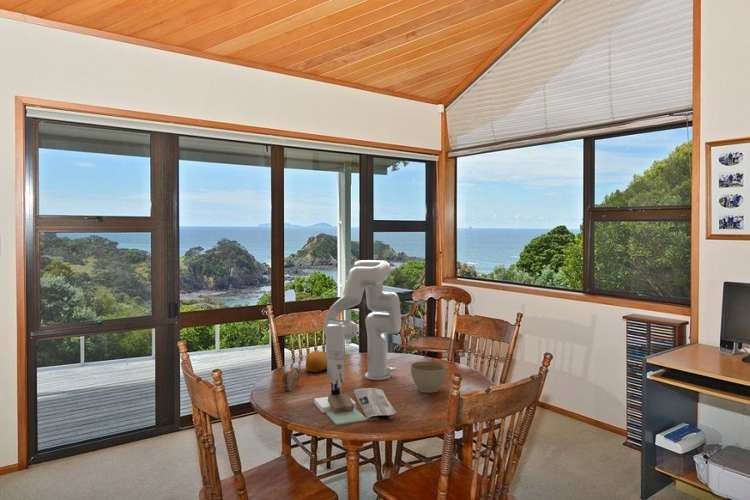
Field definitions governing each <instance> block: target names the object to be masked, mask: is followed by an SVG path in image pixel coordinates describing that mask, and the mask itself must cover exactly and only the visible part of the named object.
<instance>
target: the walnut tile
mask: <svg viewBox="0 0 750 500" xmlns="http://www.w3.org/2000/svg"><path fill="white" fill-rule="evenodd" d="M327 397H328V402H329V404H330V406H331V408H332V410H333V412H334V414H335V413H341V412H347V411H353V410H354V404H353V403H352V401H351V399H352V398H351V397H350V396H349V393H340V394H338V395H331V394H330V395H327ZM350 398H351V399H350Z"/></svg>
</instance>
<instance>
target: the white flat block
mask: <svg viewBox="0 0 750 500" xmlns="http://www.w3.org/2000/svg"><path fill="white" fill-rule="evenodd" d="M350 399H351V401H352V403H353V404H354V407H355V408H356V409H357V403H356V402H355V400H353V399H352V398H351V397H350ZM313 403H314V405H315V406H316V407H317V409H318V410H319V411H320V412H321V413H322V414H324V413H325V411H330V410H332V408H331V406H330V404H329V402H328V396H324V397H315V398H313ZM325 414H326V413H325Z"/></svg>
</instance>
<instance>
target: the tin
mask: <svg viewBox="0 0 750 500" xmlns="http://www.w3.org/2000/svg"><path fill="white" fill-rule="evenodd" d="M281 381H282V389H283V390H284V391H289V392H291V391H292V390H294V388H295V387H297V386H298V385H299V381H300V372H299V368H298V367H297V366H296V367H290V368H289V369H288V370H286V371H285V372H284V373H283V375H282V379H281Z"/></svg>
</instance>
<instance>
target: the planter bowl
mask: <svg viewBox="0 0 750 500" xmlns="http://www.w3.org/2000/svg"><path fill="white" fill-rule="evenodd" d="M409 367H410V373H411V374H410V375H411V378H412V380H413V383H414V384H415V385H416V387H417V390H418V391H419V392H421V393H429V394H431V393H437V392H439V391H440V388H441V387H442V385H443V383H444V381H445V379H446V376H447V365H446V364H444V363H441V362H438V361H425V360H423V361H418V362H417V361H416V362H413V363H411V364H410V366H409Z"/></svg>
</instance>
